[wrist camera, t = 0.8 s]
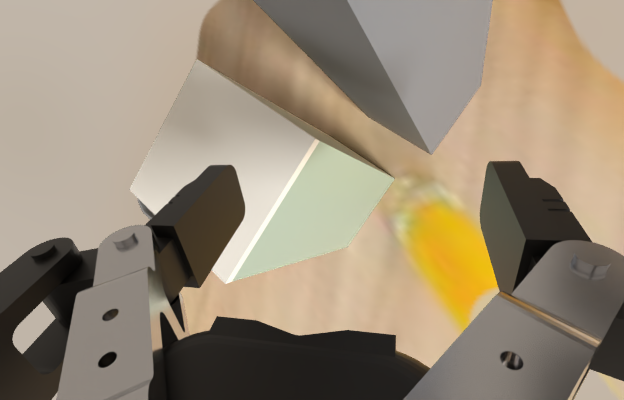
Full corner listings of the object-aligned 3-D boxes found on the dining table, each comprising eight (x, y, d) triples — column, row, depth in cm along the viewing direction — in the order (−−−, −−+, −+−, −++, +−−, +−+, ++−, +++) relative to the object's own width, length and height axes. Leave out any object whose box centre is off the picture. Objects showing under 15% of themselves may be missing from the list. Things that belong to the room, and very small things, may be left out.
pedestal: (328, 135, 35) (196, 58, 18) (394, 178, 32) (315, 138, 15) (287, 200, 37) (129, 189, 19) (347, 247, 34) (225, 283, 17)
